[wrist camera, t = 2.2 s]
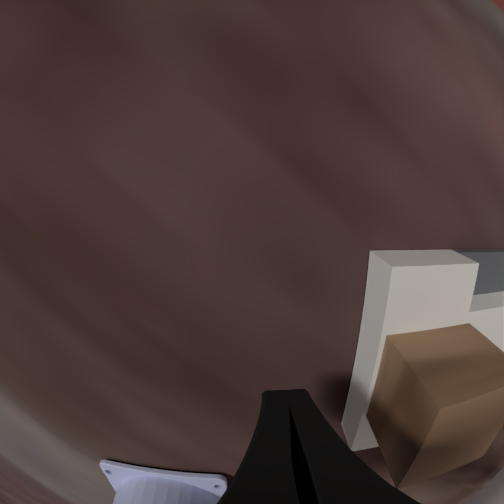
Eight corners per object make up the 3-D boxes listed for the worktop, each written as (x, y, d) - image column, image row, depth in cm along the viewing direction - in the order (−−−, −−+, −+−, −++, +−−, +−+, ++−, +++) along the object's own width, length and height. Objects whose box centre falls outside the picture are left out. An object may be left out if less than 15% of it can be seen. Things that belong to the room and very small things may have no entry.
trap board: (503, 381, 13) (531, 410, 10) (340, 423, 13) (357, 475, 10) (543, 248, 11) (585, 266, 8) (369, 250, 11) (414, 283, 8)
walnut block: (442, 398, 11) (483, 456, 7) (366, 415, 11) (396, 489, 7) (469, 323, 10) (529, 375, 6) (386, 335, 10) (440, 408, 6)
